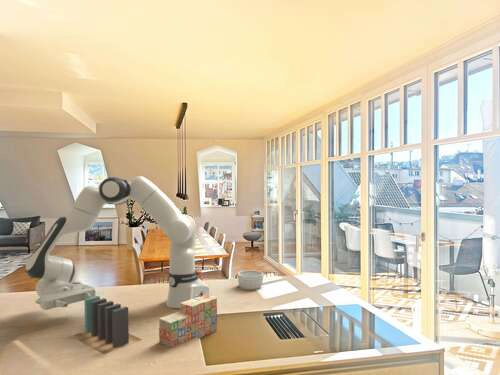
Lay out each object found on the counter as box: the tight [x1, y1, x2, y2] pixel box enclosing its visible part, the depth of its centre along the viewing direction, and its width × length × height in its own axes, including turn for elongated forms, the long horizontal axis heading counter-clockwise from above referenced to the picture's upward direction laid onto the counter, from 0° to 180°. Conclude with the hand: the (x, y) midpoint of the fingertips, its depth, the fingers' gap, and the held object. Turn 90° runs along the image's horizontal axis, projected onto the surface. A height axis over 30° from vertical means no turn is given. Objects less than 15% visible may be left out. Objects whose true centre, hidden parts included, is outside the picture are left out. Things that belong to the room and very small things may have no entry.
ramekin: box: [237, 269, 264, 291], centre depth 198 cm, size 13×13×7 cm
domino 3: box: [98, 300, 115, 340], centre depth 134 cm, size 5×2×12 cm, turn 140°
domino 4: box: [105, 303, 122, 344], centre depth 131 cm, size 5×2×12 cm, turn 140°
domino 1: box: [83, 295, 101, 334], centre depth 140 cm, size 5×2×12 cm, turn 141°
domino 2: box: [91, 297, 108, 337], centre depth 137 cm, size 5×2×12 cm, turn 140°
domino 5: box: [112, 306, 130, 348], centre depth 128 cm, size 5×2×12 cm, turn 140°
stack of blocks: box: [158, 295, 218, 348], centre depth 136 cm, size 21×6×12 cm, turn 140°
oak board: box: [70, 330, 143, 355], centre depth 134 cm, size 14×22×1 cm, turn 50°
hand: (78, 301), depth 146 cm, fingers open, 8 cm apart
